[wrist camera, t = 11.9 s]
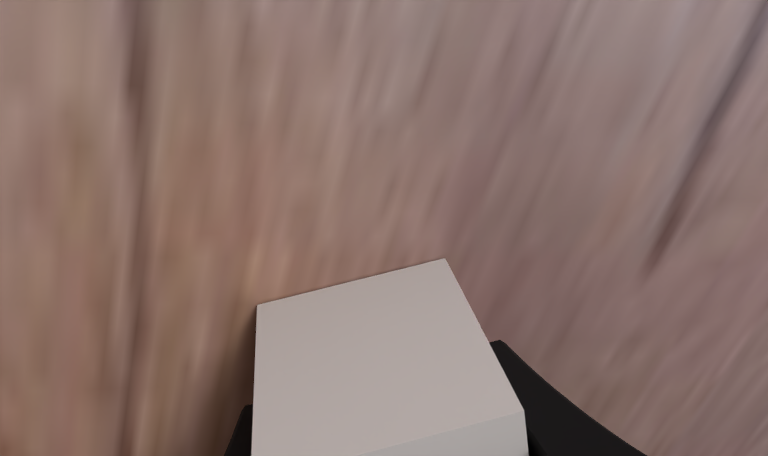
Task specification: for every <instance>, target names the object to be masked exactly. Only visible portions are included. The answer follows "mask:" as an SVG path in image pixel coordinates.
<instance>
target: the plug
mask: <svg viewBox="0 0 768 456" xmlns="http://www.w3.org/2000/svg"><path fill="white" fill-rule="evenodd" d="M251 456H529V453H528V443H527V433H526V423H525V413H524V409H523V407H522V405H521V404H520V402H519V400H518V398H517V396H516V394H515V392H514V390H513V388H512V386H511V384H510V382H509V380H508V378H507V377H506V375H505V373H504V371H503V369H502V367H501V365H500V363H499V361H498V359H497V357H496V355H495V353H494V352H493V350H492V348H491V346H490V344H489V342H488V340H487V338H486V336H485V334H484V332H483V330H482V328H481V326H480V325H479V323H478V321H477V319H476V317H475V315H474V313H473V311H472V309H471V307H470V305H469V303H468V301H467V300H466V298H465V296H464V294H463V292H462V290H461V288H460V286H459V284H458V282H457V280H456V278H455V276H454V275H453V273H452V271H451V269H450V267H449V265H448V263H447V261H446V259H445V258H444V259H440V260H436V261H432V262H428V263H424V264H420V265H416V266H412V267H408V268H404V269H400V270H396V271H392V272H388V273H384V274H380V275H376V276H372V277H368V278H364V279H360V280H356V281H352V282H348V283H344V284H340V285H336V286H332V287H328V288H324V289H320V290H316V291H312V292H308V293H304V294H300V295H296V296H292V297H288V298H284V299H280V300H276V301H272V302H267V303H263V304H259V305H257V321H256V347H255V372H254V398H253V424H252V450H251Z"/></svg>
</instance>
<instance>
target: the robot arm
mask: <svg viewBox="0 0 768 456" xmlns="http://www.w3.org/2000/svg"><path fill="white" fill-rule="evenodd" d="M489 344H490V346H491V348H492V350H493V352H494V353H495V355H496V357H497V359H498V361H499V363H500V365H501V367H502V369H503V371H504V373H505V375H506V377H507V378H508V380H509V382H510V384H511V386H512V388H513V390H514V392H515V394H516V396H517V398H518V400H519V402H520V404H521V405H522V407H523V409H524V413H525V423H526V433H527V443H528V453H529V456H647V455H645V454H644V453H642V452H640V451H639V450H637V449H636V448H634V447H632V446H631V445H629V444H628V443H626V442H625V441H623V440H622V439H621V438H619V437H618V436H616V435H615V434H613V433H612V432H610V431H609V430H608V429H606V428H605V427H603V426H602V425H601V424H599V423H598V422H597V421H595V420H594V419H592V418H591V417H590V416H588V415H587V414H586V413H584V412H583V411H582V410H581V409H579V408H578V407H577V406H575V405H574V404H573V403H572V402H571V401H569V400H568V399H567V398H566V397H564V396H563V395H562V394H561V393H559V392H558V391H557V390H556V389H554V388H553V387H552V386H551V385H550V384H549V383H547V382H546V381H545V380H544V379H543V378H542V377H541V376H539V375H538V374H537V373H536V372H535V371H534V370H533V369H532V368H530V367H529V366H528V365H527V364H526V363H525V362H524V361H523V360H522V359H521V358H520V357H519V356H518V355H517V354H516V353H515V352H514V351H513V350H511V349H510V348H509V347H508V345H507V344H506V343H504V342H502V341H501V340H498V341H494V342H490V343H489ZM252 424H253V404H251V405H247V406H245V407H244V408H243V410H242V411H241V414H240V416H239V419H238V422H237V425H236V427H235V430H234V433H233V435H232V438H231V440H230V443H229V445H228V448H227V450H226V453H225V455H224V456H251V450H252Z"/></svg>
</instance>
